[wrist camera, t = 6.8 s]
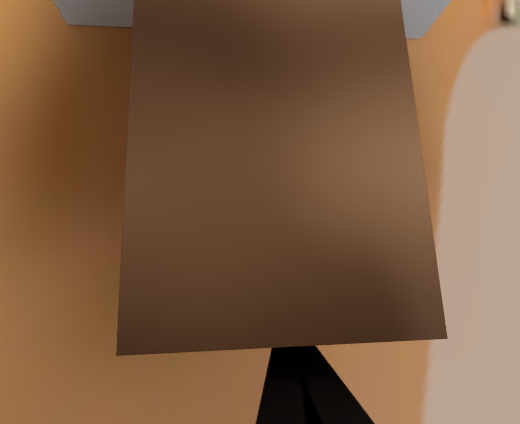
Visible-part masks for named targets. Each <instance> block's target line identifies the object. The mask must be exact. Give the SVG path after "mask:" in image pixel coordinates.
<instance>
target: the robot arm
mask: <svg viewBox="0 0 520 424" xmlns="http://www.w3.org/2000/svg"><path fill="white" fill-rule="evenodd" d="M256 424H375V423H374V422H373V421H372V419H371V418H370V417H369V415H368V414H367V413H366V411H365V410H364V409H363V408H362V406H361V405H360V404H359V402H358V401H357V400H356V398H355V397H354V396H353V394H352V393H351V392H350V390H349V389H348V388H347V387H346V385H345V384H344V383H343V381H342V380H341V379H340V377H339V376H338V375H337V373H336V372H335V371H334V369H333V368H332V367H331V366H330V364H329V363H328V362H327V360H326V359H325V358H324V356H323V355H322V354H321V352H320V351H319V350H318V348H317V347H316V346H315V345H314V346H295V347H276V348H272V349H271V354H270V359H269V363H268V368H267V373H266V377H265V382H264V387H263V391H262V396H261V401H260V405H259V410H258V415H257V420H256Z"/></svg>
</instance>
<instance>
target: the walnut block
mask: <svg viewBox="0 0 520 424" xmlns="http://www.w3.org/2000/svg"><path fill="white" fill-rule="evenodd" d="M431 339H447V332H446V325H445V318H444V310H443V304H442V296H441V290H440V282H439V274H438V267H437V260H436V253H435V245H434V238H433V231H432V224H431V216H430V209H429V202H428V195H427V187H426V180H425V173H424V166H423V158H422V151H421V144H420V137H419V129H418V122H417V115H416V108H415V101H414V93H413V86H412V79H411V72H410V64H409V57H408V50H407V43H406V35H405V28H404V21H403V14H402V6H401V0H134V3H133V24H132V44H131V65H130V85H129V106H128V126H127V147H126V167H125V188H124V208H123V229H122V249H121V270H120V290H119V311H118V331H117V352H116V356H120V355H140V354H159V353H178V352H198V351H217V350H237V349H256V348H276V347H295V346H314V345H334V344H353V343H373V342H392V341H411V340H431Z"/></svg>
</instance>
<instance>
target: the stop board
mask: <svg viewBox="0 0 520 424" xmlns="http://www.w3.org/2000/svg"><path fill="white" fill-rule="evenodd" d="M53 1H54V3H55V5H56V6H57V8H58V10H59V11H60V13H61V15H62V17H63V18H64V20H65V22H66V23H67V25H89V26H114V27H132V24H133V3H134V0H53ZM450 1H451V0H401V6H402V14H403V21H404V28H405V35H406V38H411V39H421V38H422V37H423V36H424V34H425V33H426V32H427V30H428V29H429V28H430V27H431V25H432V24H433V23H434V21H435V20H436V19H437V18H438V16H439V15H440V14H441V12H442V11H443V10H444V9H445V7H446V6H447V5H448V4H449V2H450Z"/></svg>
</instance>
